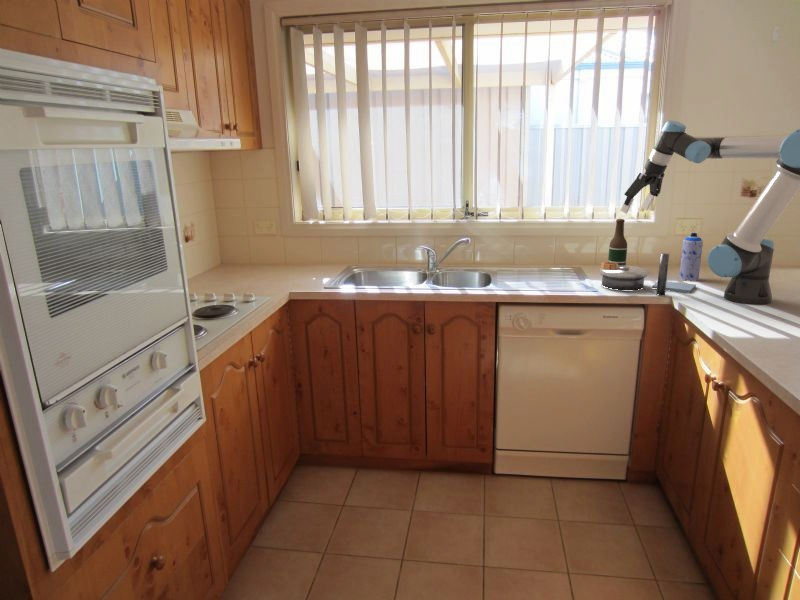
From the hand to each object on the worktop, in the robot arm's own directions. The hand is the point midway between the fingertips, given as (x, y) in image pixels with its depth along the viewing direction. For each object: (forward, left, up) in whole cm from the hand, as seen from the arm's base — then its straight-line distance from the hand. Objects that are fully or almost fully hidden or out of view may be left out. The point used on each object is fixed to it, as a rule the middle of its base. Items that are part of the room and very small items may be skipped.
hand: (634, 210), depth 229 cm
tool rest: (-18, -1, -30) cm, 35 cm away
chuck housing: (0, +7, -30) cm, 31 cm away
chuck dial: (0, +7, -25) cm, 26 cm away
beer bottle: (+11, -24, -31) cm, 40 cm away
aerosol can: (-20, -22, -31) cm, 42 cm away
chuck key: (-16, +13, -30) cm, 37 cm away
